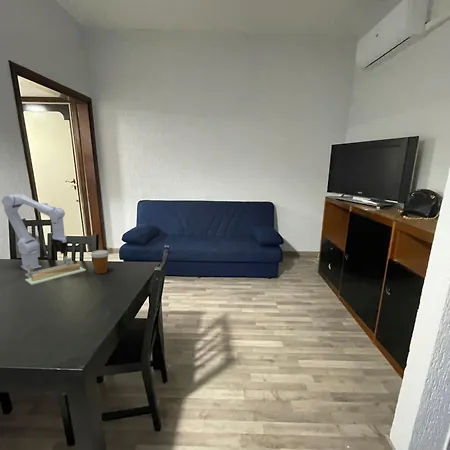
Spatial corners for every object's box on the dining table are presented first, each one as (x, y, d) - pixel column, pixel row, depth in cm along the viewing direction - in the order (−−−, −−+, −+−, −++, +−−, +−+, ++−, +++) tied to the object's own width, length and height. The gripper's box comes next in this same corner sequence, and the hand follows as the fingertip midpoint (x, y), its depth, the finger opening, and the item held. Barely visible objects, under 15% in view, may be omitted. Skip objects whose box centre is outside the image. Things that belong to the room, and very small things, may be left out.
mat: (25, 280, 151) (25, 279, 151) (78, 266, 173) (78, 266, 173) (31, 285, 146) (31, 284, 146) (85, 270, 167) (85, 269, 167)
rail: (31, 279, 151) (30, 274, 150) (77, 268, 169) (77, 263, 169) (33, 281, 149) (33, 275, 148) (80, 269, 167) (79, 264, 167)
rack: (25, 274, 158) (23, 265, 157) (68, 264, 176) (67, 255, 175) (29, 278, 154) (28, 268, 153) (73, 267, 172) (72, 258, 171)
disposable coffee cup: (105, 275, 162) (104, 254, 159) (89, 274, 162) (87, 254, 159) (112, 269, 171) (111, 250, 168) (96, 268, 171) (95, 249, 169)
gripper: (71, 230, 163) (73, 253, 166) (60, 226, 172) (62, 248, 174) (57, 232, 157) (60, 255, 160) (47, 228, 166) (49, 250, 169)
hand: (60, 252), depth 167 cm, fingers open, 7 cm apart
